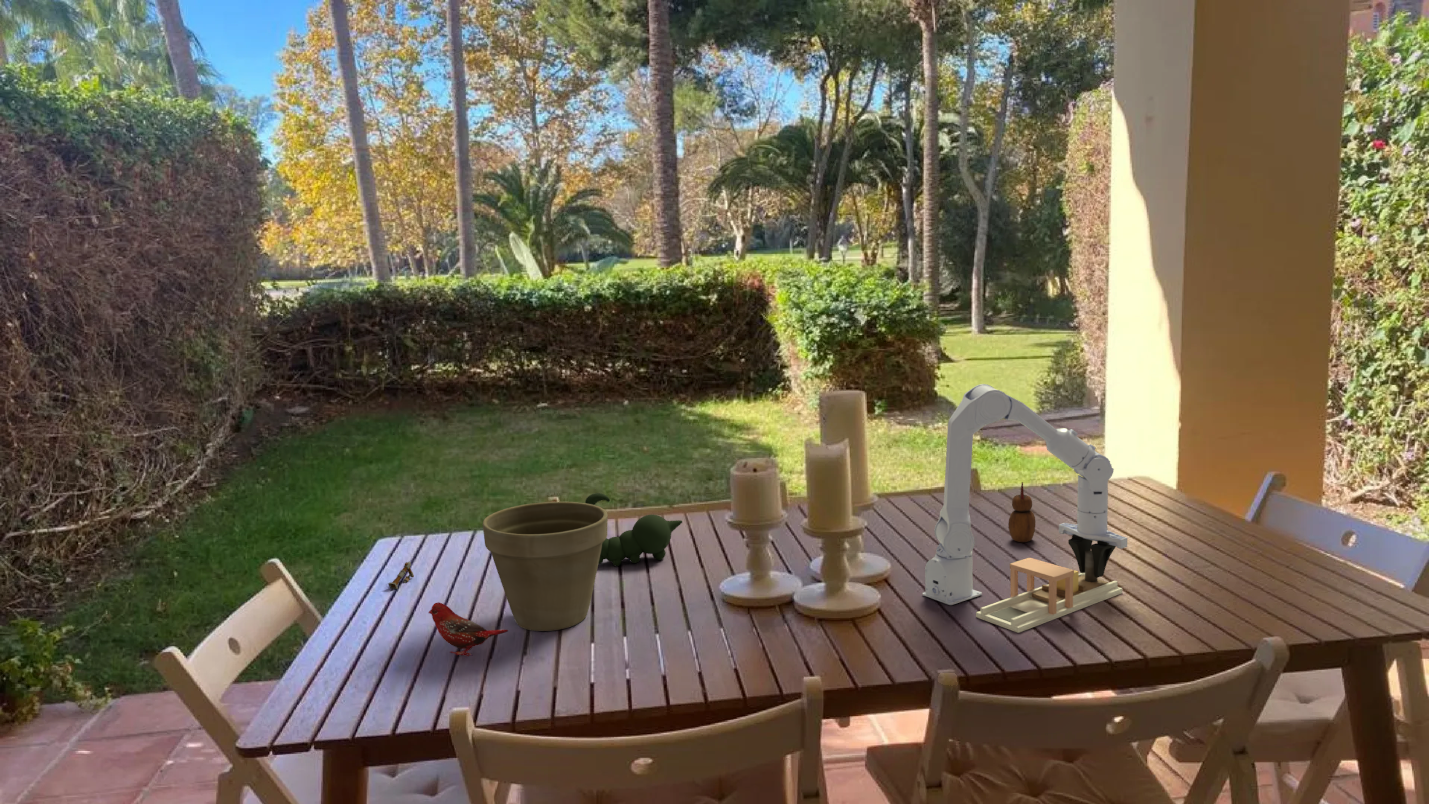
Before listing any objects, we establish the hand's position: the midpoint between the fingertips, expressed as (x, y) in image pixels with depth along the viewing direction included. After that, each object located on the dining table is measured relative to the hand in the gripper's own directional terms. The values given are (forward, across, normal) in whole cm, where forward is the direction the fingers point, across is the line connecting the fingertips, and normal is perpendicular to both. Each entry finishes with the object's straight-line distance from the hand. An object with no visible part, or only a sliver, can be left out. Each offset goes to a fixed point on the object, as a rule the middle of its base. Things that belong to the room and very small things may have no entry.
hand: (1091, 574), depth 191 cm
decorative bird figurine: (+4, +51, +114) cm, 125 cm away
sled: (+2, 0, +7) cm, 7 cm away
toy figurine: (+4, +81, +64) cm, 103 cm away
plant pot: (+4, +59, +94) cm, 111 cm away
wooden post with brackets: (+4, +103, +113) cm, 153 cm away
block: (+1, 0, +9) cm, 9 cm away
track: (+3, 0, +13) cm, 13 cm away
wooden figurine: (+4, +31, -17) cm, 36 cm away
